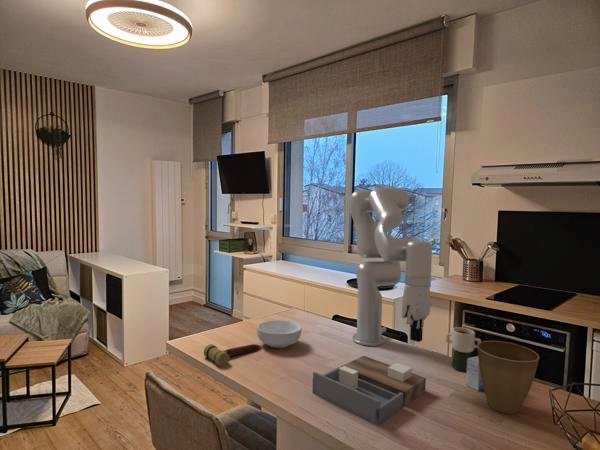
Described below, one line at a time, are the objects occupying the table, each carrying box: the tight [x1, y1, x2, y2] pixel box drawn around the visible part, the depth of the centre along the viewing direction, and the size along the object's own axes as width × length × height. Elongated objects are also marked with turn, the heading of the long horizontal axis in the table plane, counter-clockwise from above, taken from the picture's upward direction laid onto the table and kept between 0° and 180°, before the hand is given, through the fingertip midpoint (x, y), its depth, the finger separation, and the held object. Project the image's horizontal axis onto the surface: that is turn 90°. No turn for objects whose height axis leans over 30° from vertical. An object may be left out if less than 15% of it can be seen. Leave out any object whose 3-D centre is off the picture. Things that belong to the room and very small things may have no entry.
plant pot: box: [476, 340, 540, 415], centre depth 106 cm, size 15×15×16 cm
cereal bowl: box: [256, 319, 302, 349], centre depth 148 cm, size 17×17×7 cm
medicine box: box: [465, 355, 484, 392], centre depth 118 cm, size 8×4×9 cm, turn 118°
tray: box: [312, 366, 404, 426], centre depth 108 cm, size 12×22×6 cm, turn 46°
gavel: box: [203, 343, 262, 367], centre depth 137 cm, size 21×5×10 cm
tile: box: [388, 362, 413, 381], centre depth 115 cm, size 5×5×2 cm
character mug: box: [445, 326, 482, 371], centre depth 130 cm, size 11×7×13 cm, turn 60°
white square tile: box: [339, 365, 358, 389], centre depth 114 cm, size 5×5×2 cm
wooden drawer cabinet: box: [340, 355, 427, 407], centre depth 117 cm, size 12×22×4 cm, turn 46°
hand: (416, 340), depth 120 cm, fingers closed
